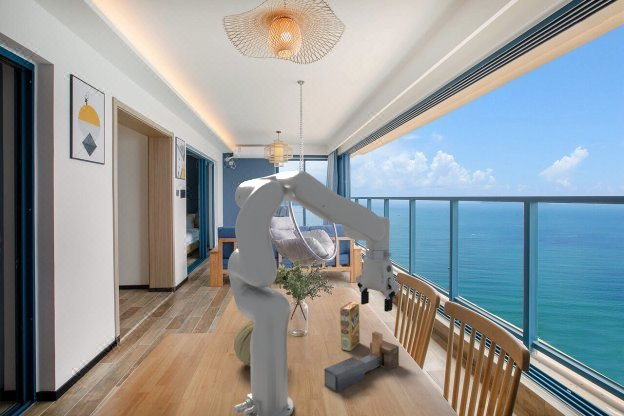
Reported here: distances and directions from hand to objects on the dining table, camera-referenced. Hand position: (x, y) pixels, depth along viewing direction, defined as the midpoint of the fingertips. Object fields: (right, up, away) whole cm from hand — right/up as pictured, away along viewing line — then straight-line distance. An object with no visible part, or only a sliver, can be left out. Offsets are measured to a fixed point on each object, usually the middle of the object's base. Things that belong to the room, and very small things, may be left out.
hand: (376, 307), depth 117 cm
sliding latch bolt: (-3, -19, -2) cm, 19 cm away
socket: (+3, -20, +3) cm, 20 cm away
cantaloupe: (-39, -20, +3) cm, 44 cm away
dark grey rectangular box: (-11, -20, -9) cm, 24 cm away
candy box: (-7, -19, +17) cm, 27 cm away
